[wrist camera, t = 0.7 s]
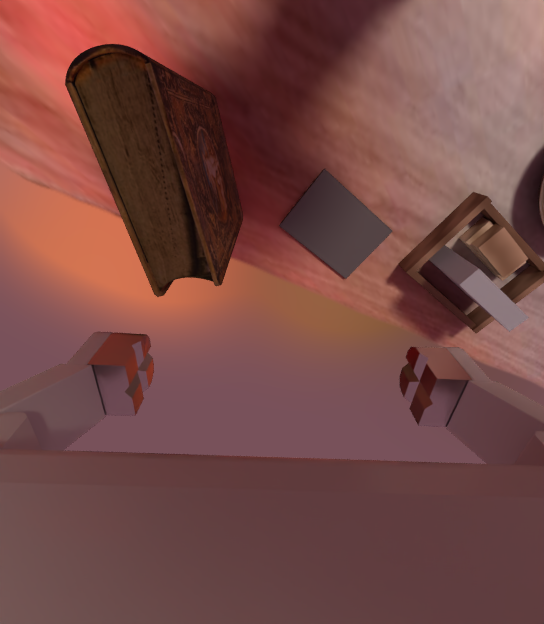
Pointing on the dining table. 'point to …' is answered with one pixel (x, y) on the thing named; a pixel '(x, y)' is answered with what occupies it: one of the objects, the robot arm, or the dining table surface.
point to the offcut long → (476, 232)
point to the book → (160, 161)
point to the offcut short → (499, 250)
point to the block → (478, 288)
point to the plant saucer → (541, 199)
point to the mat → (335, 225)
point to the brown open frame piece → (446, 231)
